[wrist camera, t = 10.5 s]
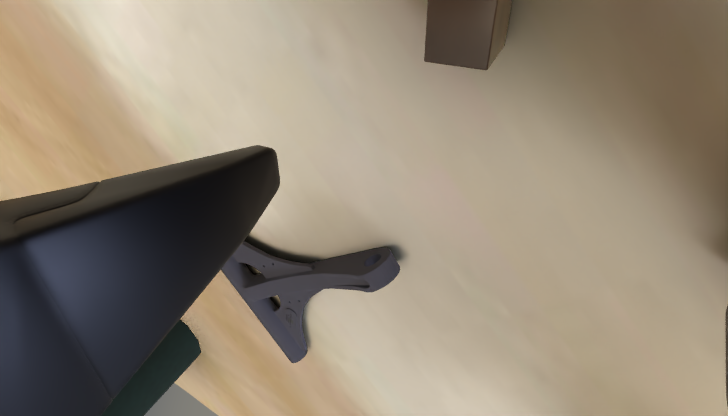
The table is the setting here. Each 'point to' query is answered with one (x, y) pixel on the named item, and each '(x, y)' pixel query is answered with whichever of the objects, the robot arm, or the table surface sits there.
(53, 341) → the robot arm
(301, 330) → the bracket
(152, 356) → the wine bottle
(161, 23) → the table surface
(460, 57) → the spatula
